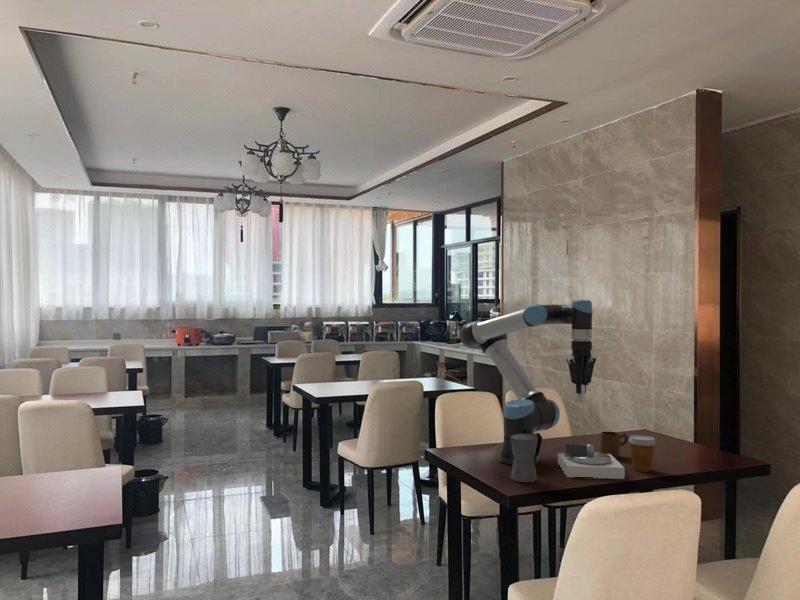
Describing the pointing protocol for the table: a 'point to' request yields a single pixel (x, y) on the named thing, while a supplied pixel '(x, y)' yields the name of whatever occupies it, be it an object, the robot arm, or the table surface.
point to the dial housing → (591, 468)
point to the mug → (612, 443)
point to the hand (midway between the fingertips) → (581, 401)
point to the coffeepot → (525, 456)
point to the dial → (586, 454)
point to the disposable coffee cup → (642, 452)
